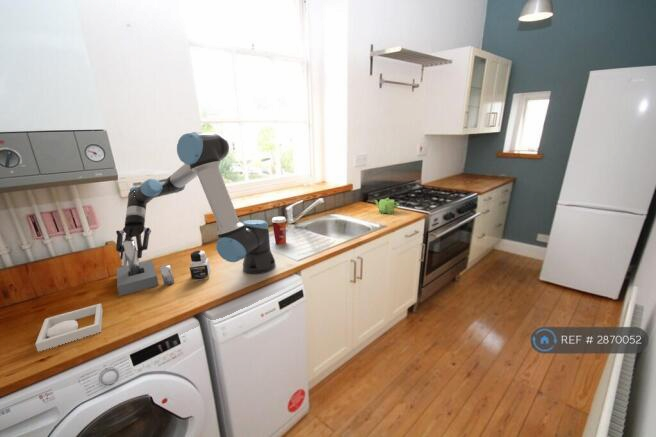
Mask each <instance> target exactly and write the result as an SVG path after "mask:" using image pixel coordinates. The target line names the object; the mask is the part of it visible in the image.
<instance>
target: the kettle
mask: <svg viewBox="0 0 656 437" xmlns="http://www.w3.org/2000/svg"><path fill="white" fill-rule="evenodd" d="M373 201H374V203H375V204H376V207H377V208H378V213H380V214H381V215H384V214H388V215H392V214H394V211H395V209H396V208H397V207H399V206H401V205H400V203H399V202H398V203H396V204H395V199H390V198H389V197H386V198H383V199H380V200H379V202H378V200H377V199H373Z"/></svg>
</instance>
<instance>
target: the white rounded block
mask: <svg viewBox="0 0 656 437" xmlns="http://www.w3.org/2000/svg"><path fill="white" fill-rule="evenodd" d="M77 329H79V323H78V321H77V320H68V321H63V322H61V323H58V324H56V325H54V326H52V327H51V328H49V329H48V330H47V332H46V336H47V337H48V338H51V337H54V336H57V335H60V334H64V333H67V332H70V331H73V330H77Z"/></svg>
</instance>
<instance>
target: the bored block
mask: <svg viewBox="0 0 656 437" xmlns="http://www.w3.org/2000/svg"><path fill="white" fill-rule="evenodd" d="M139 264H140V268H141V273H139V274H136V275H131V273H130V269H129V265H127V266H126V268H124V267H123V266H121V267H117V268H116V286H117V292H118V295H119V296H120V297H121V296H124V295H128V294H132V293H135V292H139V291H143V290H146V289H150V288H155V287H157V286H159V281H158V277H157V273H156V269H155V266H154V262H153V259H151V260H148V261H144V262H143V261H142V262H139Z"/></svg>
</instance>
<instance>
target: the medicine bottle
mask: <svg viewBox="0 0 656 437" xmlns="http://www.w3.org/2000/svg"><path fill="white" fill-rule="evenodd" d="M189 255H190V260H191V262H190V264H189V265H190V266H189V271H190V278H191V281H192V282H194V281H195V282H196V281H203V280H210V276H211V265H210V259H209V258H208V257H207V256H206V252H205V251H204V250H196V251H193V252H191V253H190V254H189Z"/></svg>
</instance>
